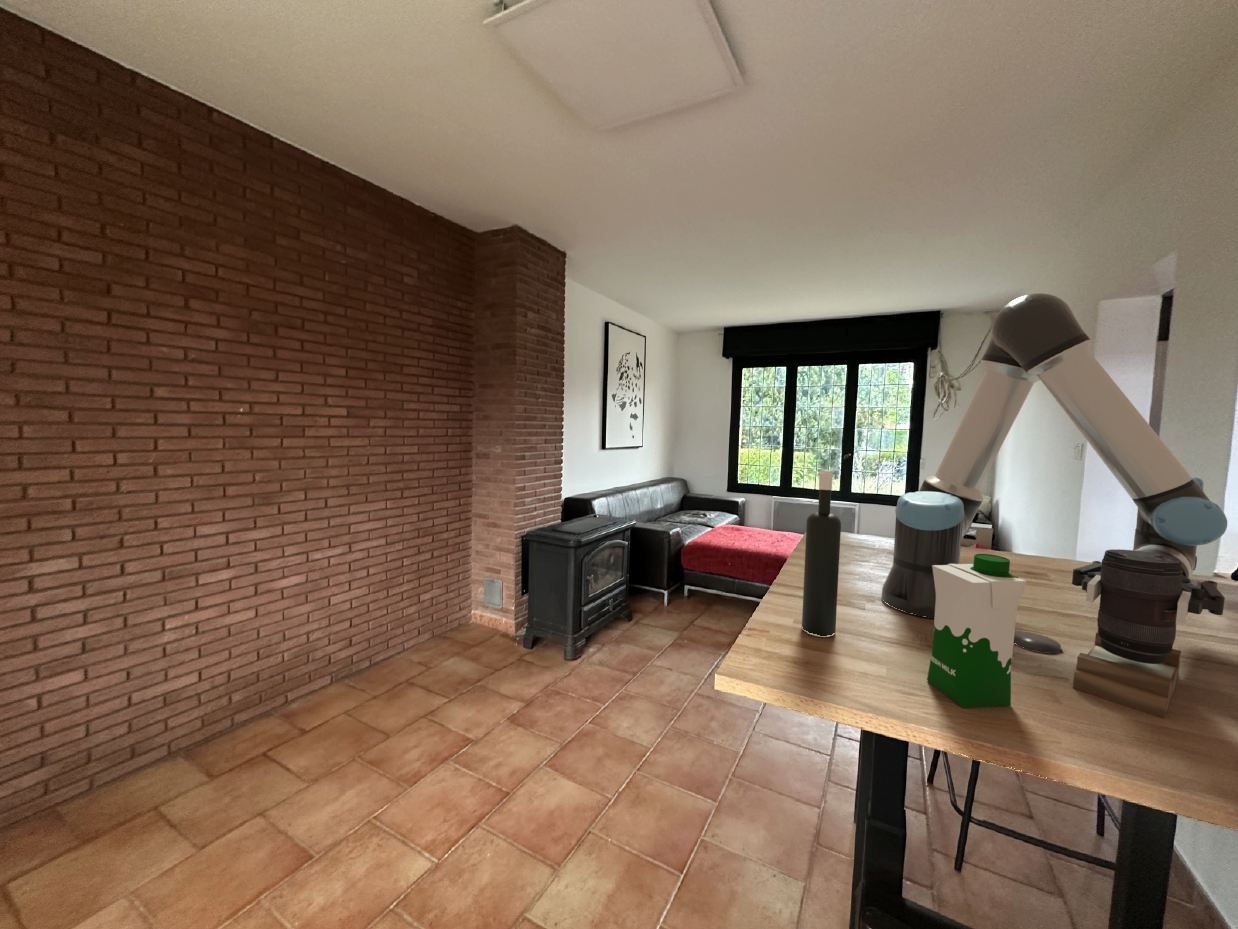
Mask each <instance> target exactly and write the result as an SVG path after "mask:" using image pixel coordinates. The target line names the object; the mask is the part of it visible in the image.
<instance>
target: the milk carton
mask: <svg viewBox="0 0 1238 929" xmlns="http://www.w3.org/2000/svg"><path fill="white" fill-rule="evenodd" d="M932 568H933V575H934V583H935V591H936V604H935V618H934V622H933V633H932V647H931V655H930V660H929V661H930V662H929V667H928V672H927V677H926V680H928V683H930V684H931V685H933V686H934V687H935V688H937V689H938V690H939V691H941V692H942V693H943V694H944V695H945V696H947V697H948V698H950V699H951V700H952V701H953V702H954V703H957V704H958V705H959V706H960V707H961V708H963V709H968V708H970V709H971V708H987V707H991V708H992V707H1006V706H1007V707H1008V706H1012V675H1011V674H1012V664H1013V662H1012V661H1013V652H1014V633H1015V631H1016V621H1017V611H1018V608H1019V604H1020V602H1021V600H1022V597H1023V593H1024V590H1025V588H1026V586H1027V580H1025V579H1023V578H1019V576H1016V575H1013V574H1012V573H1011V572H1010V568H1011V560H1010V559H1009V558H1007V557H1004V556H1001V555H996V554H991V553H990V554H989V553H977V554H976V553H975V554H974V555H973V563H959V564H948V565H932Z"/></svg>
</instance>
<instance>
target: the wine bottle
mask: <svg viewBox="0 0 1238 929" xmlns="http://www.w3.org/2000/svg"><path fill="white" fill-rule="evenodd" d="M833 471H834V470H828V469H827V470H826V469H823V470H822V469H821V470H819V476H818V477H819V478H818V490H819V491H818V493H819V494H818V508H817V509H818V510H817V512H813V513H810V514H809V515H808V517H807V518H806V524H805V525H806V526H805V545H804V546H805V551H804V567H803V568H804V573H803V596H802V597H803V598H802V615H801V616H802V617H801V619H802V620H801V628H802V627H803V629H804V630H806V631H808V632H809V633H813V634H817V635H820V636H827V635H832V634H833V633H835V634H836V626H837V625H836V624H837V607H838V592H839V590H838V588H839V571H840V570H839V569H840V552H841V551H840V550H841V535H842V534H841V532H842V522H841V520H840V518H839V517H838V516H837V515H836V514H834V513H831V501H832V490H833V489H832V488H833V474H834V472H833Z"/></svg>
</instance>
